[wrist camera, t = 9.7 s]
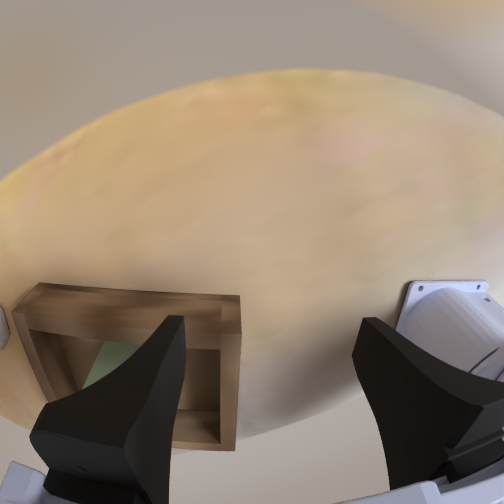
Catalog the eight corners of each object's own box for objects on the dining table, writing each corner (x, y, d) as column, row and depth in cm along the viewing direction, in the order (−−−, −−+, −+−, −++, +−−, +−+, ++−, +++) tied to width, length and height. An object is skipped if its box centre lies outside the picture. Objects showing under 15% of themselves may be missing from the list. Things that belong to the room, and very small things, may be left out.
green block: (160, 344, 23) (145, 403, 17) (166, 385, 24) (155, 441, 19) (106, 338, 22) (80, 392, 17) (116, 379, 24) (97, 432, 18)
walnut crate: (239, 295, 22) (241, 334, 18) (233, 412, 27) (234, 451, 23) (39, 282, 21) (11, 312, 17) (76, 395, 26) (62, 428, 22)
